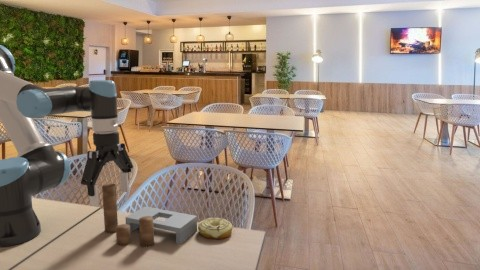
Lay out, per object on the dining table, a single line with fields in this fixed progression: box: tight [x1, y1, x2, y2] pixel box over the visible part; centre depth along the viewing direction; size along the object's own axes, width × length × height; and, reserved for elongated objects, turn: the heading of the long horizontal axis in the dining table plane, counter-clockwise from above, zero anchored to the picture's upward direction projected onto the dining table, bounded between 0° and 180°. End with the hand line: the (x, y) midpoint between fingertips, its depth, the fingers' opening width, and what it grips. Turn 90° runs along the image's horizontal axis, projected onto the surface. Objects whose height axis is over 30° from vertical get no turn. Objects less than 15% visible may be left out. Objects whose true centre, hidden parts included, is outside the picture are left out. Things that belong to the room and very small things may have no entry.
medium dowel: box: [138, 216, 155, 248], centre depth 110 cm, size 4×4×8 cm
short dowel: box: [115, 223, 132, 247], centre depth 111 cm, size 4×4×5 cm
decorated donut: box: [197, 217, 234, 240], centre depth 119 cm, size 10×11×4 cm
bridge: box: [124, 206, 198, 245], centre depth 119 cm, size 20×10×5 cm, turn 67°
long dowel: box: [101, 183, 119, 234], centre depth 118 cm, size 4×4×15 cm
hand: (110, 198), depth 118 cm, fingers open, 13 cm apart
